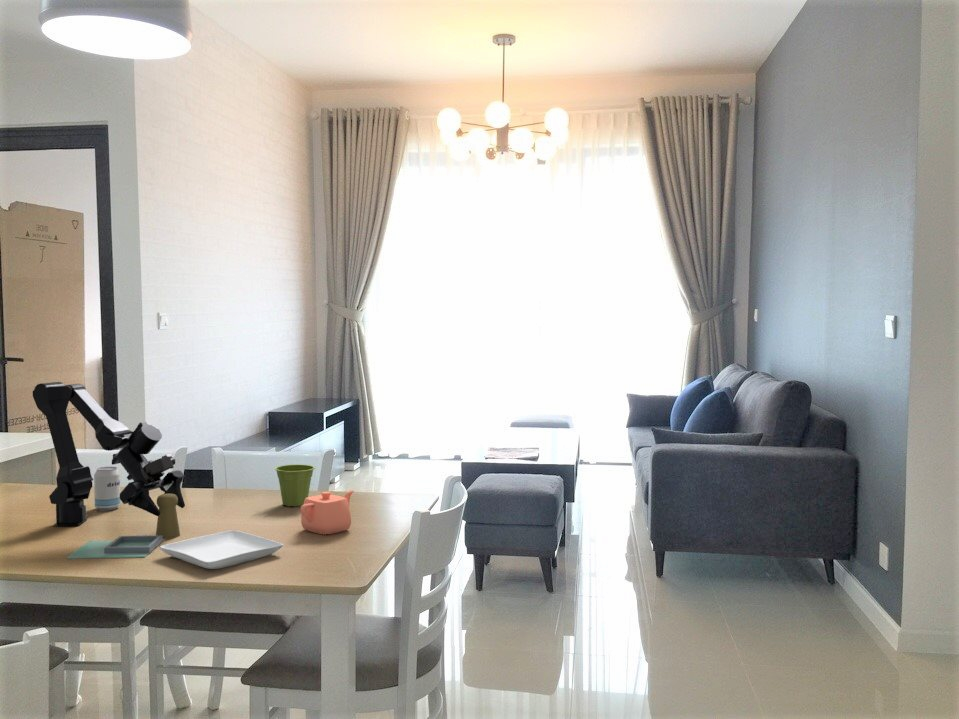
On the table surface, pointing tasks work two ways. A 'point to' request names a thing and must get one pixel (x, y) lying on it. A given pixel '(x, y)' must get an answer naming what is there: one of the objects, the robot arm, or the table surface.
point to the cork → (167, 516)
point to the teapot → (326, 513)
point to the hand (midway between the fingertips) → (171, 511)
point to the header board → (119, 547)
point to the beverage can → (107, 488)
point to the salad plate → (222, 549)
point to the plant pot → (294, 483)
